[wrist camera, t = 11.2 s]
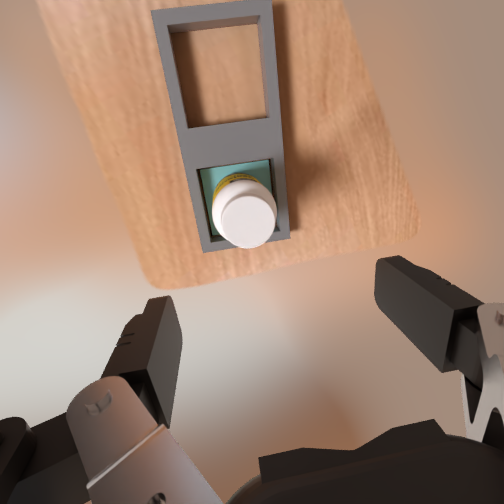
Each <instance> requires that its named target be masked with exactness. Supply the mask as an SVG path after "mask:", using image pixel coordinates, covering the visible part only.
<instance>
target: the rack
mask: <svg viewBox="0 0 504 504" xmlns="http://www.w3.org/2000/svg"><path fill="white" fill-rule="evenodd" d="M151 15H152V19H153V24H154V29H155V33H156V38H157V42H158V47H159V52H160V56H161V61H162V66H163V70H164V75H165V79H166V84H167V89H168V93H169V98H170V103H171V107H172V112H173V117H174V121H175V126H176V130H177V135H178V140H179V144H180V149H181V154H182V158H183V163H184V167H185V172H186V177H187V181H188V186H189V191H190V195H191V200H192V204H193V209H194V214H195V218H196V223H197V228H198V232H199V237H200V242H201V246H202V251H203V253H206V252H212V251H218V250H224V249H230V248H236V247H238V246H235V245H234V244H232V243H231V242H230V241H228V240H227V239H225V238H224V237H223V236H222V235H221V236H215V237H211V236H210V231H209V226H208V220H207V215H206V210H205V205H204V200H203V195H202V190H201V185H200V180H199V175H198V170H197V169H200V168H207V167H213V166H220V165H227V164H234V163H241V162H248V161H254V160H261V159H268V158H270V159H271V170H272V180H273V190H274V200H275V203H276V208H277V217H276V221H277V226H276V227H275V228H274V231H273V233H272V235H271V236H270V238H269V239H268V240H267V241H266V242H272V241H278V240H284V239H290V227H289V215H288V202H287V189H286V176H285V164H284V151H283V138H282V126H281V113H280V100H279V87H278V75H277V62H276V49H275V36H274V24H273V11H272V0H244V1H234V2H225V3H216V4H206V5H197V6H187V7H178V8H169V9H159V10H151ZM256 23H257V25H258V36H259V46H260V56H261V66H262V77H263V87H264V97H265V108H266V118H263V119H255V120H248V121H240V122H233V123H226V124H218V125H211V126H204V127H196V128H189V125H188V120H187V115H186V110H185V105H184V100H183V95H182V90H181V85H180V80H179V75H178V70H177V65H176V60H175V55H174V50H173V45H172V39H171V34H170V33H176V32H185V31H194V30H203V29H212V28H221V27H230V26H239V25H247V24H256ZM232 173H246V174H249V175H251V176H253V177H255V178H256V179H257V180H258V181H259V182H260V183H261V184H262V185H263V186H264V187H266V188H267V189H268V191H269V192H270V193H271V195H272V189H271V178H270V168H269V160H262V161H255V162H248V163H241V164H234V165H227V166H221V167H214V168H207V169H200V174H201V179H202V184H203V189H204V194H205V199H206V204H207V209H208V214H209V220H210V225H211V230H212V235H219V234H220V233H219V232H218V230H217V229H216V227H215V225H214V222H213V218H212V204H213V194H214V190H215V188H216V186H217V184H218V183H219V182H220V180H221V179H223V178H224V177H225V176H227V175H229V174H232ZM266 242H265V243H266Z"/></svg>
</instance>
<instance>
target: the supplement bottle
mask: <svg viewBox="0 0 504 504" xmlns="http://www.w3.org/2000/svg"><path fill="white" fill-rule="evenodd" d="M276 217H277V208H276V203H275V201H274V198H273V197H272V195H271V193H270V192H269V191H268V189H267V188H266V187H264V186H263V185H262V184H261V183H260V182H259V181H258V180H257V179H256V178H255V177H253V176H251V175H249V174H246V173H232V174H229V175H227V176H225V177H224V178H223V179H221V180H220V182H219V183H218V184H217V186H216V188H215V190H214V194H213V204H212V218H213V222H214V225H215V227H216V229H217V230H218V232H219V233H220V234H221V235H222V236H223V237H224V238H225V239H227V240H228V241H230V242H231V243H232V244H234V245H235V246H238V247H241V248H255V247H258V246H260V245H262V244H263V243H265V242H266V241H267V240H268V239H269V238H270V236H271V235H272V233H273V231H274V228H275V222H276Z"/></svg>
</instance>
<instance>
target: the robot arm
mask: <svg viewBox="0 0 504 504" xmlns="http://www.w3.org/2000/svg"><path fill="white" fill-rule="evenodd" d="M374 296H375V300H376V303H377V305H378V307H379V308H380V310H381V311H382V312H383V313H384V314H385V315H386V316H387V317H388V318H389V319H390V320H391V321H392V322H393V323H394V324H395V325H396V326H397V327H398V328H399V329H400V330H401V331H402V332H403V333H404V334H405V335H406V336H407V337H408V339H409V340H410V341H411V342H412V343H413V344H414V345H415V346H416V347H417V348H418V349H419V350H420V351H421V352H422V353H423V354H424V355H425V356H426V357H427V358H428V359H429V360H430V361H431V362H432V363H433V364H434V365H435V366H436V367H437V368H438V370H439V371H441V372H442V373H444V372H449V371H454V370H459V371H461V372H462V377H461V391H462V400H463V408H464V417H465V426H466V438H465V437H461V436H455V435H448V434H445V432H444V431H443V430H442V429H441V427H440V426H439V425H438V423H437V422H436V421H435V420H434V419H431V420H427V421H422V422H418V423H413V424H408V425H404V426H400V427H395V428H392V429H390V430H388V431H386V432H385V433H383V434H381V435H380V436H378V437H376V438H375V439H373V440H371V441H369V442H368V443H366V444H364V445H363V446H361V447H359V448H357V449H355V450H332V449H316V448H299V449H295V450H290V451H286V452H281V453H277V454H272V455H268V456H263V457H259V458H258V459H259V466H260V473H261V474H259V475H257V476H256V477H254V478H252V479H251V480H249V482H247V483H246V484H245V485H243V486H242V487H241V488H240V489H239V490H238V491H237V492H235V494H233V496H232V497H231V498H230V499H229V500H228V502H227V503H226V504H504V304H503V303H487V304H485V303H483V302H481V301H480V300H478V299H476V298H475V297H473V296H471V295H470V294H468V293H467V292H465V291H463V290H462V289H460V288H458V287H457V286H455V285H451V283H450V282H449V281H447V280H445V279H442V278H441V277H440V276H439V275H437V274H435V273H434V272H432V271H431V270H428V269H425V268H422V267H419V266H416V265H414V264H413V263H411V262H409V261H408V260H406V259H405V258H403V257H402V256H399V255H397V256H392V257H386V258H381V259H378V260H377V263H376V272H375V291H374ZM116 345H117V347H115V349H114V351H113V353H112V355H111V357H110V359H109V361H108V363H107V365H106V367H105V370H104V372H103V374H102V376H101V378H100V379H99V380H97V381H95V382H93V383H91V384H90V385H88V386H87V387H85V388H84V389H83V390H82V391H80V392H79V393H78V394H77V395H76V396H75V397H74V399H73V400H72V402H71V403H70V404H69V406H68V409H67V412H65V413H63V414H61V415H59V416H56V417H54V418H52V419H50V420H48V421H45V422H43V423H41V424H39V425H36V426H34V427H32V428H30V427H29V426H28V424H27V423H26V421H25V420H24V419H23V418H20V417H10V418H6V419H2V420H0V504H84V503H86V502H88V501H90V500H91V502H92V504H223V502H222V501H221V500H220V498H219V497H218V496H217V494H216V493H215V492H214V490H213V489H212V488H211V486H210V485H209V484H208V482H207V481H206V480H205V478H204V477H203V476H202V474H201V473H200V472H199V470H198V469H197V468H196V466H195V465H194V464H193V462H192V461H191V460H190V458H189V457H188V456H187V454H186V453H185V452H184V450H183V449H182V448H181V446H180V445H179V444H178V442H177V441H176V440H175V439H174V437H173V436H172V434H171V433H170V432H169V430H168V429H169V428H170V422H171V415H172V409H173V402H174V395H175V389H176V382H177V376H178V370H179V363H180V357H181V350H182V332H181V328H180V324H179V321H178V318H177V314H176V310H175V307H174V304H173V300H172V298H171V296H163V297H157V298H152V299H149V300H148V302H147V304H146V307H145V309H144V312H143V314H138V315H135V316H134V317H133V318H132V319H131V320H130V321H129V322H128V323H127V324H126V325H125V328H124V330H123V332H122V334H121V338H119V340H118V342H117V344H116Z"/></svg>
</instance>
